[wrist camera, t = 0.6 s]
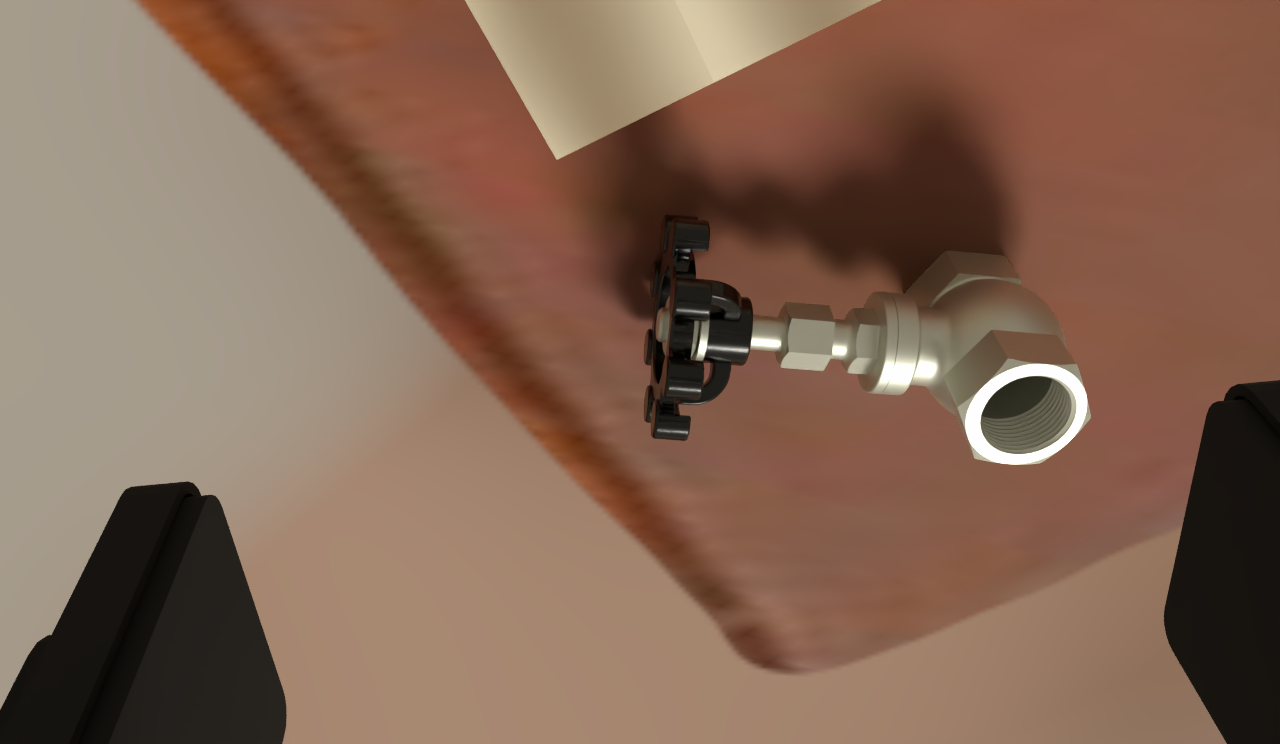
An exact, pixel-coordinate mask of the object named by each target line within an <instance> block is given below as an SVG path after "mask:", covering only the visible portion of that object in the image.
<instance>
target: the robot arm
mask: <svg viewBox="0 0 1280 744" xmlns="http://www.w3.org/2000/svg"><path fill="white" fill-rule="evenodd" d="M1164 625H1165V631H1166V635H1167V638H1168V641H1169V644H1170V646H1171V648H1172V651H1173V652H1174V654H1175V656H1176V657H1177V659H1178V661H1179V663H1180V664H1181V666H1182V668H1183V669H1184V671H1185V673H1186V675H1187V676H1188V678H1189V680H1190V681H1191V683H1192V685H1193V686H1194V688H1195V690H1196V692H1197V693H1198V695H1199V697H1200V698H1201V700H1202V702H1203V703H1204V705H1205V707H1206V709H1207V710H1208V712H1209V714H1210V715H1211V717H1212V719H1213V720H1214V722H1215V724H1216V726H1217V727H1218V729H1219V731H1220V733H1221V734H1222V736H1223V738H1224V739H1225V741H1226V743H1227V744H1280V380H1278V381H1268V382H1257V383H1246V384H1237V385H1235V386H1233V387H1231V388H1230V389H1229V391H1228V392H1227V393H1226V395H1225V398H1224V401H1218V402H1215V403H1213V404H1212V405H1211V406H1210V408H1209V410H1208V413H1207V416H1206V420H1205V424H1204V429H1203V434H1202V438H1201V443H1200V448H1199V452H1198V457H1197V461H1196V466H1195V471H1194V475H1193V480H1192V485H1191V489H1190V494H1189V498H1188V503H1187V508H1186V512H1185V517H1184V522H1183V526H1182V531H1181V536H1180V540H1179V545H1178V549H1177V554H1176V558H1175V563H1174V568H1173V573H1172V577H1171V582H1170V586H1169V591H1168V595H1167V600H1166V605H1165V611H1164ZM285 728H286V701H285V696H284V692H283V688H282V685H281V682H280V680H279V676H278V674H277V670H276V668H275V664H274V661H273V658H272V655H271V652H270V650H269V646H268V643H267V641H266V638H265V634H264V632H263V628H262V626H261V623H260V620H259V616H258V613H257V610H256V607H255V604H254V602H253V599H252V595H251V592H250V590H249V586H248V583H247V580H246V578H245V574H244V571H243V569H242V565H241V562H240V559H239V556H238V553H237V550H236V547H235V544H234V542H233V538H232V535H231V533H230V530H229V526H228V524H227V520H226V517H225V515H224V511H223V508H222V506H221V504H220V502H219V500H218V499H217V497H216V496H213V495H205V496H201V494H200V492H199V489H198V488H197V487H196V486H195V485H194V484H193V483H191V482H178V483H168V484H158V485H146V486H135V487H130V488H128V489H126V490H125V491H124V493H123V494H122V495H121V497H120V499H119V500H118V503H117V505H116V507H115V509H114V511H113V513H112V515H111V517H110V519H109V521H108V523H107V525H106V527H105V529H104V531H103V533H102V535H101V537H100V539H99V541H98V543H97V545H96V547H95V549H94V551H93V553H92V555H91V557H90V559H89V561H88V563H87V565H86V567H85V569H84V571H83V573H82V575H81V577H80V579H79V581H78V583H77V585H76V587H75V589H74V591H73V593H72V595H71V597H70V599H69V601H68V603H67V605H66V607H65V609H64V611H63V613H62V615H61V618H60V619H59V621H58V623H57V625H56V627H55V629H54V631H53V633H52V635H48V636H46V637H45V638H43V639H42V640H40V641H39V642H37V644H36V645H35V646H34V648H33V649H32V651H31V652H30V654H29V655H28V657H27V659H26V661H25V663H24V665H23V667H22V669H21V670H20V673H19V674H18V676H17V678H16V681H15V682H14V684H13V686H12V688H11V690H10V692H9V694H8V696H7V698H6V700H5V702H4V704H3V706H2V708H1V710H0V744H282V742H283V738H284V733H285Z"/></svg>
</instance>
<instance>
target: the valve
mask: <svg viewBox="0 0 1280 744" xmlns="http://www.w3.org/2000/svg"><path fill="white" fill-rule="evenodd" d="M709 240H710V226H709V222H708V221H704V220H698V218H697V217H690V216H679V215H669V214H667V215H665V216H664V217H663V221H662V226H661V236H660V249H661V252H662V253H663V258H662V261H655V262H654V263H653V267H652V272H651V282H650V293H651V296H652V297H653V298H655V305H654V316H653V325H652V329H648V330H647V332H646V336H645V344H644V363H645V364H646V365H651V381H650V385H649V386H647V388H646V392H645V399H644V420H645V422H647V423H651V436H652V437H653V438H654V439H666V440H680V441H686V440H687V438H688V435H689V430H690V422H691V417H690V416H683V415H680V412H679V407H678V404H684V405H699V404H704V403H707V402H709V401H711V400H713V399H714V398H716V397H717V396H718V395H719V394H720V393H721V392H722V391H723V390H724V388H725V387H726V385H727V383H728V380H729V377H730V372H731V365H738V366H742V365H744V364H745V363H746V361H747V359H748V355H749V352H750V349H754V350H766V351H775V354H776V359H777V361H778V363H779V365H780V366H781V368H792V369H805V370H817V371H824V369H825V367H826V365H827V364H828V362H829V360H830V359H840V360H841V361H842V364H843V366H844V368H845V370H846V371H847V372H848V373H855V374H858V379H859V382H860V385H861V387H862V389H863V390H864V391H865V392H868V393H876V394H891V395H901V394H902V393H904V392H905V391H906V390H907V389H908V387H909V386H910V385H920V386H925V387H927V388H928V389H929V391H930V392H931V394H932V395H933V396H934V397H935V398H936V400H937V401H938V402H939V403H940V404H941V405H942V406H943V407H945V408H946V409H947V410H949V411H950V412H951V413H952V414H954V415H956V417H957V420H958V423H959V426H960V429H961V431H962V433H963V435H964V437H965V439H966V441H967V444H968V446H969V448H970V450H971V452H972V454H973V456H974V458H975V459H979V460H984V461H989V462H996V463H1004V464H1038V463H1041V462H1043V461H1044V460H1046V459H1048V458H1049V457H1051V456H1052V455H1054V454H1055V453H1056V452H1057V451H1059V450H1060V449H1061V448H1062V447H1064V446H1065V445H1066V444H1067V443H1068V442H1069V441H1070V440H1071V439H1072V438H1073V437H1074V436H1075V435H1076V434H1077V433H1078V432H1079V431H1080V430H1081V429H1082V428H1083V427H1084V426H1085V424H1086V423H1087V422H1088V421H1089V419H1090V418H1091V415H1090V409H1089V405H1088V400H1087V396H1086V393H1085V389H1084V386H1083V382H1082V379H1081V376H1080V372H1079V369H1078V366H1077V364H1076V362H1075V361H1074V359H1073V358H1072V356H1071V355H1070V353H1069V352H1068V350H1067V347H1066V341H1065V336H1064V332H1063V330H1062V327H1061V325H1060V323H1059V320H1058V318H1057V317H1056V315H1055V314H1054V312H1053V311H1052V310H1051V308H1050V307H1049V306H1048V304H1047V303H1046V302H1045V301H1044V300H1042V299H1041V298H1040V297H1039V296H1038V295H1037V294H1035V293H1034V292H1032V291H1031V290H1029V289H1027V288H1025V287H1023V286H1022V283H1021V280H1020V278H1019V276H1018V275H1017V273H1016V272H1015V270H1014V269H1013V267H1012V266H1011V264H1010V263H1009V261H1008V260H1007V258H1006V257H1005V256H1002V255H993V254H983V253H972V252H961V251H950V250H948V251H945V252H943V253H942V254H941V255H940V256H939V257H938V258H937V259H936V260H935V261H934V262H933V264H932V265H931V266H930V267H929V268H928V269H927V270H926V271H925V272H924V273H923V274H922V275H921V276H920V277H919V278H918V279H917V280H916V281H915V282H914V283H913V284H912V285H911V286H910V287H909V288H908V289H907V290H906V292H905V293H904V294H902V293H890V292H879V291H876V292H874V293H872V294H871V295H870V296H869V298H868V299H867V301H866V303H865V305H864V308H853V309H852V310H851V311H850V312H849V313H848V314H847V316H846V318H845V320H840V319H834V318H833V315H832V312H831V309H830V307H829V305H817V304H806V303H794V302H786V303H785V305H784V306H783V307H782V309H781V310H780V313H779V316H778V317H771V316H759V315H753V308H752V303H751V300H750V299H749V298H748V297H741V295H740V294H739V292H738V291H737V290H736V289H735V288H733V287H732V286H730V285H728V284H726V283H723V282H719V281H714V280H705V279H696V269H695V260H694V255H693V252H692V250H696V251H708V248H709ZM691 358H692V360H691ZM704 363H711V365H710V374H709V377H708V379H707V381H706V382H705V383H703V381H704Z"/></svg>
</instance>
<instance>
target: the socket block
mask: <svg viewBox="0 0 1280 744" xmlns="http://www.w3.org/2000/svg"><path fill="white" fill-rule="evenodd" d="M465 1H466V3H467V5H468V6H469V8H470V10H471V12H472V13H473V15H474V17H475V19H476V20H477V22H478V24H479V26H480V27H481V29H482V31H483V32H484V34H485V36H486V38H487V39H488V41H489V43H490V45H491V46H492V48H493V50H494V52H495V53H496V55H497V57H498V59H499V60H500V62H501V64H502V66H503V67H504V69H505V71H506V72H507V74H508V76H509V78H510V79H511V81H512V83H513V85H514V86H515V88H516V90H517V92H518V93H519V95H520V97H521V99H522V100H523V102H524V104H525V106H526V107H527V109H528V111H529V112H530V114H531V116H532V118H533V119H534V121H535V123H536V125H537V126H538V128H539V130H540V132H541V133H542V135H543V137H544V139H545V140H546V142H547V144H548V146H549V147H550V149H551V151H552V152H553V154H554V156H555V158H556V159H557V160H558V159H560V158H562V157H564V156H566V155H568V154H570V153H572V152H574V151H576V150H578V149H580V148H582V147H584V146H586V145H588V144H590V143H592V142H594V141H596V140H598V139H600V138H602V137H604V136H606V135H608V134H610V133H612V132H614V131H617V130H619V129H621V128H623V127H625V126H627V125H629V124H631V123H633V122H635V121H637V120H639V119H641V118H643V117H645V116H647V115H649V114H651V113H653V112H655V111H657V110H659V109H661V108H663V107H665V106H667V105H669V104H671V103H673V102H675V101H677V100H679V99H682V98H684V97H686V96H688V95H690V94H692V93H694V92H696V91H698V90H700V89H702V88H704V87H706V86H708V85H710V84H712V83H714V82H716V81H718V80H720V79H722V78H724V77H726V76H728V75H730V74H732V73H734V72H736V71H738V70H740V69H742V68H744V67H747V66H749V65H751V64H753V63H755V62H757V61H759V60H761V59H763V58H765V57H767V56H769V55H771V54H773V53H775V52H777V51H779V50H781V49H783V48H785V47H787V46H789V45H791V44H793V43H795V42H797V41H799V40H801V39H803V38H805V37H807V36H809V35H812V34H814V33H816V32H818V31H820V30H822V29H824V28H826V27H828V26H830V25H832V24H834V23H836V22H838V21H840V20H842V19H844V18H846V17H848V16H850V15H852V14H854V13H856V12H858V11H860V10H862V9H864V8H866V7H868V6H870V5H872V4H874V3H877V2H879V1H881V0H465Z"/></svg>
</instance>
